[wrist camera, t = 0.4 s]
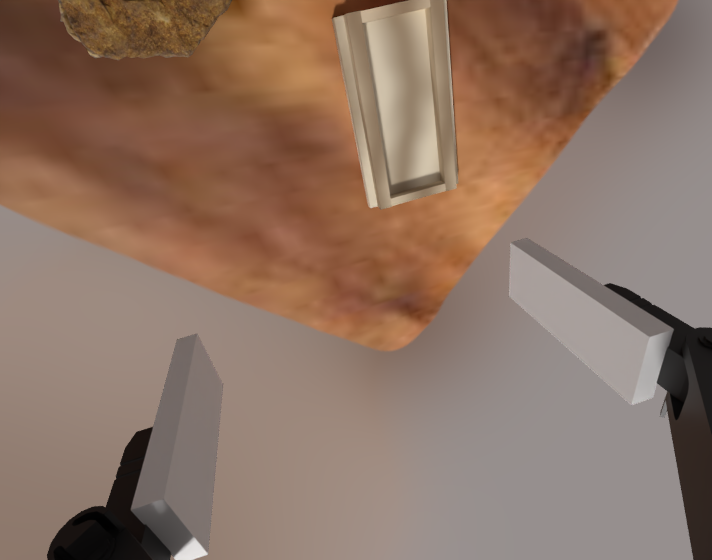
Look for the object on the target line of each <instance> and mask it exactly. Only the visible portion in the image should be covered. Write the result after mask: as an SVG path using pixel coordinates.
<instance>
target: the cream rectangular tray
mask: <svg viewBox="0 0 712 560" xmlns="http://www.w3.org/2000/svg"><path fill="white" fill-rule="evenodd" d="M332 22H333V27H334V32H335V38H336V43H337V48H338V53H339V58H340V63H341V68H342V74H343V79H344V84H345V89H346V94H347V99H348V104H349V110H350V115H351V120H352V125H353V130H354V135H355V141H356V146H357V151H358V156H359V161H360V166H361V171H362V177H363V182H364V187H365V192H366V197H367V202H368V206H369V207H370V208H373V207H376V206H378V207H379V208H380V209H385V208H388V207H392V206H394V205H397V204H401V203H404V202H408V201H412V200H415V199H419V198H422V197H426V196H429V195H433V194H436V193H440V192H443V191H449V190H452V189H456V184H458V171H457V156H456V141H455V125H454V110H453V95H452V80H451V64H450V49H449V34H448V18H447V3H446V0H408V1H403V2H399V3H394V4H390V5H386V6H381V7H377V8H372V9H368V10H364V11H356V12H351V13H347V14H345V15H343V16H339V17H334V18H333V19H332Z"/></svg>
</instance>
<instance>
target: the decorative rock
mask: <svg viewBox="0 0 712 560" xmlns="http://www.w3.org/2000/svg"><path fill="white" fill-rule="evenodd" d="M58 1H59V8H60V12H61V19H60V22H64V24H65V27H66V29H67V31H68V33H69V34H70V35H71V36H72V37H73V38H74V39H75V40H77V41H80V42H81V43H82V44H83V46H85V48H86V50H87V51H88V53H89V54H90V56H92V57H94V58H99V57H106V58H111V59H115V60H120V59H122V58H124V57H127V56H128V57H130V58H134V57H140V58H148V57H153V56H158V55H161V56H163V57H165V58H168V57H176V56H178V57H189V56H191V55H192V54H193V52H194V50H195V49H196V48H197V46H198V45H199V43H200V41H201V40H203V39H204V38H205V37H206V35H207V34H208V32H209V30H210V28H211V27H212V26H213V25H214V24H215V22H216V20H217V18H218V17H219V16H220V15H222V14H223V13H224V12H225V11H226V10H227V9H228V8H229V5H230V3H231V1H232V0H58Z"/></svg>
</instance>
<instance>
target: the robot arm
mask: <svg viewBox="0 0 712 560" xmlns="http://www.w3.org/2000/svg"><path fill="white" fill-rule="evenodd" d="M510 244H511V245H510V246H511V247H510V285H509V297H510V298H512V299H513V300H514V301H515V302H516V303H517V304H518V305H520V306H521V307H522V308H523V309H524V310H525V311H526V312H527V313H529V314H530V315H531V316H532V317H533V318H534V319H535V320H536V321H537V322H539V323H540V324H541V325H542V326H543V327H544V328H545V329H546V330H547V331H549V332H550V333H551V334H552V335H553V336H554V337H555V338H556V339H558V340H559V341H560V342H561V343H562V344H563V345H564V346H565V347H567V348H568V349H569V350H570V351H571V352H572V353H573V354H574V355H576V356H577V357H578V358H579V359H580V360H581V361H582V362H583V363H584V364H586V365H587V366H588V367H589V368H590V369H591V370H592V371H593V372H595V373H596V374H597V375H598V376H599V377H600V378H601V379H602V380H604V381H605V382H606V383H607V384H608V385H609V386H610V387H612V388H613V389H614V390H615V391H616V392H617V393H618V394H619V395H621V396H622V397H623V398H624V399H625V400H626V401H627V402H628V403H629V404H630V405H633V404H636V403H639V402H642V401H644V400H648V399H650V398H653V396H654V392H655V389H656V386H657V383H658V384H659V385H660V386H661V387H663V388H664V389H665V390H667V394H666V397H665V400H664V404H663V406H662V409H661V414H660V417H665V415H666V412H667V411H668V417H669V422H670V428H671V434H672V440H673V445H674V451H675V457H676V462H677V468H678V474H679V479H680V485H681V490H682V497H683V502H684V507H685V513H686V519H687V525H688V530H689V536H690V542H691V547H692V553H693V559H694V560H712V328H696V329H694V328H693V327H691V326H689V325H688V324H686V323H684V322H682V321H681V320H679V319H677V318H676V317H674V316H672V315H671V314H669V313H667V312H666V311H664V310H662V309H661V308H659V307H657V306H655V305H652V304H651V303H650V302H649V301H647V300H645V299H644V298H642V299H641V297H640V296H639V295H637V294H635V293H633V292H632V291H630V290H628V289H626V288H623V287H620V286H617V285H614V284H611V283H609V284H606V285H602V284H601V283H599V282H597V281H596V280H594V279H593V278H591V277H589V276H588V275H586V274H585V273H583V272H581V271H580V270H578V269H577V268H575V267H573V266H572V265H570V264H568V263H567V262H565V261H564V260H562V259H560V258H559V257H557V256H556V255H554V254H552V253H551V252H549V251H548V250H546V249H544V248H543V247H541V246H540V245H538V244H536V243H534V242H533V241H531V240H530V239H528V238H525V239H521V240H518V241H514V242H511V243H510ZM222 391H223V383H222V381H221V379H220V377H219V375H218V373H217V371H216V369H215V367H214V365H213V363H212V361H211V359H210V357H209V356H208V354H207V352H206V350H205V348H204V346H203V344H202V342H201V340H200V338H199V336H198V334H194V335H191V336H187V337H184V338H180V339H177V342H176V345H175V349H174V352H173V356H172V360H171V364H170V367H169V371H168V374H167V378H166V382H165V385H164V389H163V393H162V396H161V400H160V404H159V407H158V411H157V415H156V419H155V422H154V426H153V427H151V428H148V429H144V430H141V431H138V432H136V433H135V435H134V436H133V438H132V439H131V441H130V442H129V443H128V445H127V446H126V448H125V450H124V453H123V456H122V459H121V462H120V465H121V466H120V467H119V468H118V471H117V475H116V480H115V481H114V484H113V487H112V490H111V493H110V496H109V499H108V502H107V505H106V508H105V507H103V506H95V507H91V508H88V509H86V510H84V511H81V512H80V513H78V514H77V515H76V516H75V517H73V518H72V519H70V520H69V521H68V522H67V523H66V524H65V525H64V526H63V527H62V528H61V529H60V530H59V532H58V533H57V535H56V536H55V538H54V539H53V541H52V542H51V545H50V548H49V551H48V554H47V558H48V560H170V557H171V555H172V556H173V557H174V558H175V559H176V560H193V559H196V558H199V557H202V556H204V555H207V554H208V549H209V548H208V547H209V538H210V526H211V515H212V503H213V492H214V481H215V469H216V459H217V447H218V437H219V425H220V413H221V403H222Z"/></svg>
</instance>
